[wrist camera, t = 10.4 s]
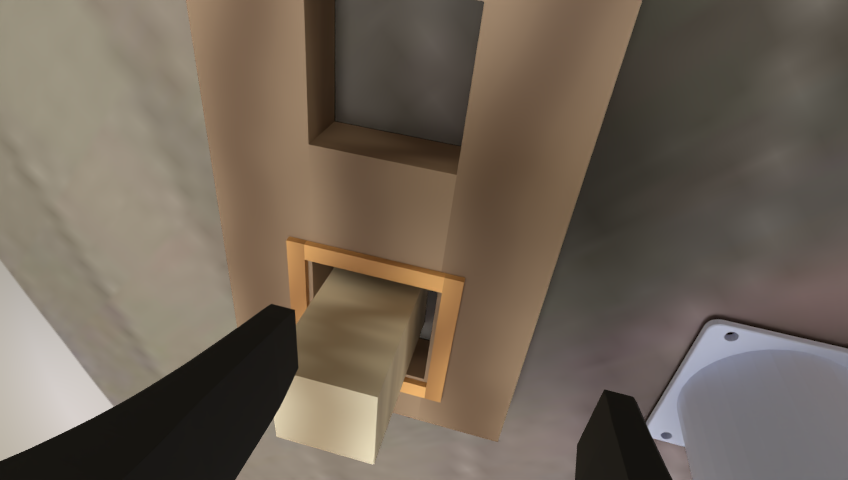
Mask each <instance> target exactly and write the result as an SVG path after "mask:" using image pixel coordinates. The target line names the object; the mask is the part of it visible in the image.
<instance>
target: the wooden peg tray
mask: <svg viewBox="0 0 848 480" xmlns="http://www.w3.org/2000/svg"><path fill="white" fill-rule="evenodd" d="M479 1H485V2H484V8H483V14H482V21H481V27H480V33H479V39H478V45H477V52H476V58H475V64H474V70H473V77H472V83H471V89H470V95H469V102H468V108H467V114H466V120H465V127H464V133H463V139H462V145H461V146H456V145H451V144H446V143H441V142H436V141H431V140H426V139H421V138H416V137H411V136H405V135H400V134H395V133H390V132H385V131H380V130H375V129H370V128H365V127H360V126H355V125H350V124H345V123H340V122H335V0H186V3H187V9H188V16H189V22H190V29H191V35H192V41H193V48H194V54H195V60H196V67H197V73H198V79H199V86H200V92H201V99H202V105H203V111H204V118H205V124H206V130H207V137H208V143H209V149H210V156H211V162H212V169H213V175H214V181H215V188H216V194H217V200H218V207H219V213H220V220H221V226H222V232H223V239H224V245H225V251H226V258H227V264H228V270H229V277H230V283H231V290H232V296H233V302H234V309H235V315H236V321H237V328H238V327H239V326H240V325H242V324H243V323H245V322H246V321H247V320H249V319H250V318H251V317H253V316H254V315H256V314H257V313H258V312H260V311H261V310H263V309H264V308H265V307H267V306H268V305H270V304H274V305H278V306H282V307H286V308H290V309H294V310H295V318H296V324H297V322H298V321H299V319H300V318H301V316H302V315H303V313H304V312H305V310H306V309H307V307H308V306H309V304H310V303H311V301H312V300H313V298H314V297H315V295H316V294H317V292H318V291H319V289H320V288H321V286H322V285H323V283H324V282H325V280H326V279H327V277H328V276H329V274H330V273H331V271H332V270H333V268H334V267H337V268H341V269H345V270H349V271H353V272H357V273H362V274H366V275H370V276H374V277H378V278H382V279H386V280H390V281H395V282H399V283H403V284H407V285H411V286H415V287H419V288H424V289H428V290H432V291H436V292H438V295H437V301H436V308H435V314H434V320H433V326H432V332H431V339H430V341H428V340H424V339H420V338H419V339H418V342H417V344H416V347H415V350H414V353H413V356H412V359H411V361H410V364H409V367H408V370H407V373H406V376H405V378H404V381H403V384H402V387H401V390H400V393H399V395H398V398H397V401H396V404H395V407H394V410H393V412H392V413H396V414H400V415H403V416H407V417H410V418H414V419H417V420H421V421H425V422H428V423H432V424H435V425H439V426H442V427H446V428H449V429H453V430H457V431H460V432H464V433H467V434H471V435H474V436H478V437H482V438H485V439H489V440H492V441H496V442H498V439H499V436H500V433H501V430H502V427H503V424H504V421H505V418H506V415H507V412H508V409H509V406H510V403H511V399H512V396H513V393H514V390H515V387H516V384H517V381H518V378H519V375H520V372H521V369H522V366H523V363H524V360H525V357H526V354H527V351H528V348H529V345H530V342H531V338H532V335H533V332H534V329H535V326H536V323H537V320H538V317H539V314H540V311H541V308H542V305H543V302H544V299H545V296H546V293H547V290H548V287H549V284H550V280H551V277H552V274H553V271H554V268H555V265H556V262H557V259H558V256H559V253H560V250H561V247H562V244H563V241H564V238H565V235H566V232H567V229H568V226H569V223H570V219H571V216H572V213H573V210H574V207H575V204H576V201H577V198H578V195H579V192H580V189H581V186H582V183H583V180H584V177H585V174H586V171H587V168H588V165H589V161H590V158H591V155H592V152H593V149H594V146H595V143H596V140H597V137H598V134H599V131H600V128H601V125H602V122H603V119H604V116H605V113H606V110H607V107H608V104H609V100H610V97H611V94H612V91H613V88H614V85H615V82H616V79H617V76H618V73H619V70H620V67H621V64H622V61H623V58H624V55H625V52H626V49H627V46H628V42H629V39H630V36H631V33H632V30H633V27H634V24H635V21H636V18H637V15H638V12H639V9H640V6H641V3H642V0H479Z"/></svg>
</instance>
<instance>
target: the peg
mask: <svg viewBox="0 0 848 480" xmlns="http://www.w3.org/2000/svg"><path fill="white" fill-rule="evenodd" d="M427 296H428V289H424V288H419V287H415V286H411V285H407V284H403V283H399V282H395V281H390V280H386V279H382V278H378V277H374V276H370V275H366V274H362V273H357V272H353V271H349V270H345V269H341V268H337V267H334V268H333V270H332V271H331V273H330V274H329V276H328V277H327V279H326V280H325V282H324V283H323V285H322V286H321V288H320V289H319V291H318V292H317V294H316V295H315V297H314V298H313V300H312V301H311V303H310V304H309V306H308V307H307V309H306V310H305V312H304V313H303V315H302V316H301V318H300V319H299V321H298V322H297V324H296V335H297V351H298V367H299V368H298V370H297V372H296V375H295V377H294V379H293V381H292V383H291V386H290V388H289V390H288V392H287V394H286V396H285V398H284V400H283V402H282V404H281V406H280V408H279V410H278V411H277V413H276V415H275V416H274V422H275V429H276V436H277V437H280V438H283V439H287V440H290V441H294V442H297V443H300V444H304V445H307V446H311V447H314V448H318V449H321V450H325V451H328V452H332V453H335V454H338V455H342V456H345V457H349V458H352V459H356V460H359V461H363V462H366V463H370V464H373V465H374V463H375V460H376V458H377V455H378V452H379V449H380V446H381V443H382V441H383V438H384V435H385V432H386V429H387V426H388V424H389V421H390V418H391V415H392V412H393V410H394V407H395V404H396V401H397V398H398V395H399V393H400V390H401V387H402V384H403V381H404V378H405V376H406V373H407V370H408V367H409V364H410V361H411V359H412V356H413V353H414V350H415V347H416V344H417V342H418V339H419V336H420V333H421V330H422V328H423V325H424V320H425V312H426V304H427Z"/></svg>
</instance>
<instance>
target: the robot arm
mask: <svg viewBox="0 0 848 480" xmlns="http://www.w3.org/2000/svg"><path fill="white" fill-rule="evenodd" d="M729 332H735V333H734V334H731V335H725V334H727V333H729ZM298 368H299V367H298V351H297V335H296V318H295V310H294V309H290V308H286V307H282V306H278V305H274V304H270V305H268V306H267V307H265V308H264V309H263V310H261V311H260V312H258V313H257V314H256V315H254V316H253V317H251V318H250V319H249V320H247V321H246V322H245V323H243V324H242V325H240V326H239V327H238V328H236V329H235V330H233V331H232V332H231V333H229V334H228V335H226V336H225V337H224V338H222V339H221V340H219V341H218V342H217V343H215V344H214V345H212V346H211V347H209V348H208V349H206V350H205V351H203V352H202V353H200V354H199V355H198V356H196V357H195V358H193V359H192V360H190V361H189V362H187V363H186V364H184V365H183V366H181V367H180V368H178V369H176V370H175V371H173V372H172V373H170V374H168V375H167V376H165V377H164V378H162V379H160V380H159V381H157V382H156V383H154V384H152V385H151V386H149V387H148V388H146V389H144V390H143V391H141V392H139V393H138V394H136V395H134V396H132V397H131V398H129V399H127V400H125V401H124V402H122V403H120V404H118V405H116V406H115V407H113V408H111V409H109V410H107V411H105V412H104V413H102V414H100V415H98V416H96V417H94V418H92V419H91V420H88V421H86V422H84V423H82V424H80V425H78V426H76V427H74V428H72V429H70V430H68V431H66V432H64V433H62V434H60V435H58V436H56V437H53V438H51V439H49V440H47V441H45V442H43V443H41V444H39V445H36V446H34V447H32V448H30V449H28V450H26V451H23V452H21V453H19V454H16V455H14V456H12V457H9V458H7V459H4V460H2V461H0V480H235V479H236V477H237V476H238V474H239V473H240V471H241V469H242V468H243V466H244V465H245V463H246V461H247V460H248V458H249V457H250V455H251V453H252V452H253V450H254V449H255V447H256V445H257V444H258V442H259V441H260V439H261V437H262V436H263V434H264V433H265V431H266V429H267V428H268V426H269V424H270V423H271V421H272V420H273V418H274V416H275V415H276V413H277V411H278V410H279V408H280V406H281V404H282V402H283V400H284V398H285V396H286V394H287V392H288V390H289V388H290V386H291V383H292V381H293V379H294V377H295V375H296V372H297V370H298ZM653 438H654V439H657V440H661V441H665V442H668V443H672V444H676V445H680V446H683V447H685V449H686V453H687V458H688V462H689V467H690V471H691V476H692V480H848V349H847V348H843V347H839V346H834V345H830V344H826V343H821V342H817V341H813V340H808V339H804V338H800V337H795V336H791V335H787V334H782V333H778V332H774V331H769V330H765V329H761V328H756V327H752V326H748V325H743V324H739V323H735V322H730V321H726V320H721V319H715V320H711V321H709V322H707V323H706V324H705V325H704V327H703V328H702V330H701V332H700V333H699V335H698V337H697V338H696V340H695V342H694V343H693V345H692V347H691V348H690V350H689V352H688V353H687V355H686V357H685V358H684V360H683V362H682V363H681V365H680V367H679V368H678V370H677V372H676V373H675V375H674V377H673V378H672V380H671V382H670V383H669V385H668V387H667V388H666V390H665V392H664V393H663V395H662V397H661V398H660V400H659V402H658V403H657V405H656V407H655V408H654V410H653V412H652V413H651V415H650V417H649V418H648V420H647V422H645V420H644V418H643V416H642V413H641V411H640V409H639V407H638V404H637V402H636V400H635V399H634V397H631V396H628V395H624V394H620V393H616V392H612V391H608V390H604V391H603V393H602V395H601V397H600V399H599V401H598V403H597V405H596V407H595V409H594V411H593V414H592V416H591V418H590V420H589V422H588V424H587V426H586V428H585V430H584V432H583V434H582V436H581V438H580V440H579V442H578V444H577V457H576V473H575V480H672V478H671V476H670V474H669V472H668V470H667V468H666V466H665V463H664V461H663V459H662V457H661V455H660V453H659V451H658V449H657V447H656V444H655V442H654V440H653Z"/></svg>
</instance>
